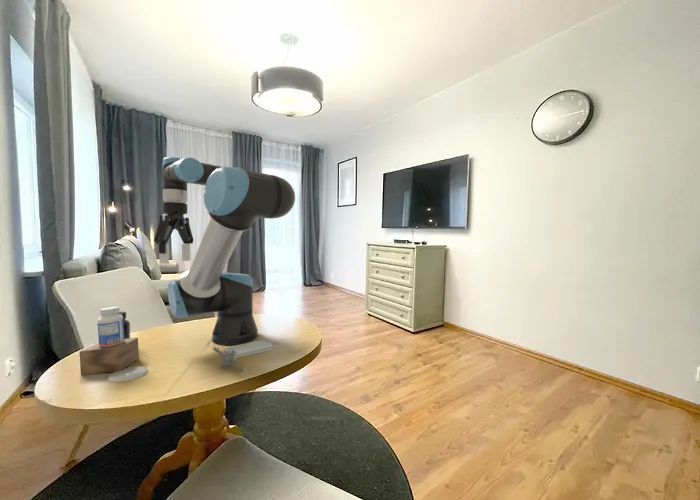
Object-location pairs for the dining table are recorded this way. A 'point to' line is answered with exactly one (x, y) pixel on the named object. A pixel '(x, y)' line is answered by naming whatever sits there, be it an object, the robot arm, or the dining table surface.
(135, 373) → the grey coaster
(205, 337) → the dining table surface
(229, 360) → the grey cross-shaped piece
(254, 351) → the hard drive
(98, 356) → the walnut block
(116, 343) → the pill bottle
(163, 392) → the dining table surface
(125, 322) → the supplement bottle
